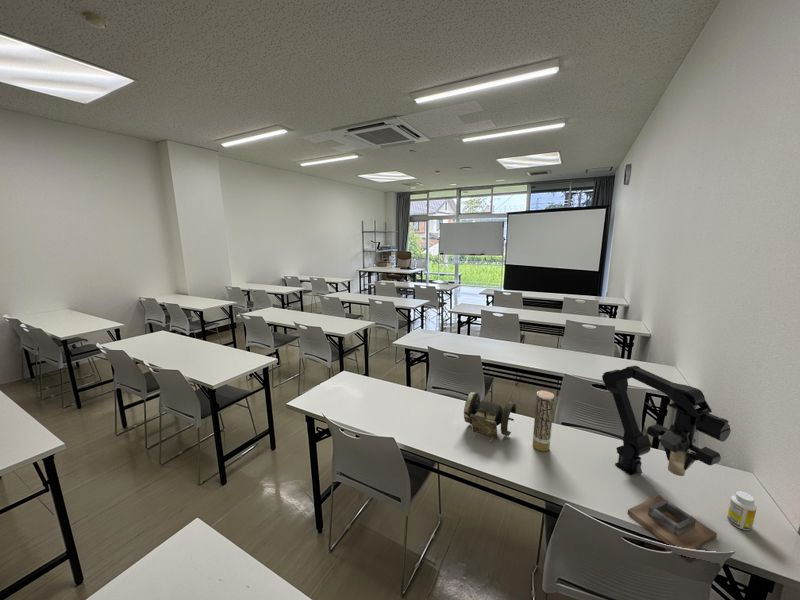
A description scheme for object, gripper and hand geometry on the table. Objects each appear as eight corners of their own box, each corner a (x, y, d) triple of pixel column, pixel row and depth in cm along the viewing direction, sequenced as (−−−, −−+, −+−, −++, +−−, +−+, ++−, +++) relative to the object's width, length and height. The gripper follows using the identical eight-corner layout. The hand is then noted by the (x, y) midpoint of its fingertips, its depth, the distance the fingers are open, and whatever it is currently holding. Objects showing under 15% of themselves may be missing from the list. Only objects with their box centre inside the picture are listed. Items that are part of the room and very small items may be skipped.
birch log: (551, 453, 136) (556, 398, 131) (534, 451, 137) (538, 397, 132) (547, 443, 142) (552, 391, 137) (531, 441, 144) (535, 389, 139)
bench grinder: (475, 406, 167) (468, 380, 156) (519, 417, 154) (515, 390, 144) (461, 440, 153) (453, 414, 143) (508, 455, 141) (502, 427, 131)
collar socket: (627, 513, 106) (629, 501, 105) (657, 498, 112) (659, 487, 111) (684, 557, 91) (687, 544, 91) (716, 537, 97) (718, 525, 96)
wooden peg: (664, 468, 112) (668, 446, 111) (672, 465, 114) (676, 442, 112) (679, 477, 108) (684, 453, 107) (687, 473, 110) (692, 450, 108)
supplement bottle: (750, 523, 102) (757, 495, 100) (752, 534, 98) (759, 506, 96) (726, 513, 106) (732, 486, 104) (726, 523, 102) (733, 496, 100)
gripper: (639, 415, 113) (633, 454, 116) (705, 446, 96) (696, 491, 99) (659, 408, 117) (653, 446, 120) (725, 437, 100) (716, 480, 103)
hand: (677, 464), depth 111 cm, fingers closed on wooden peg, 4 cm apart
